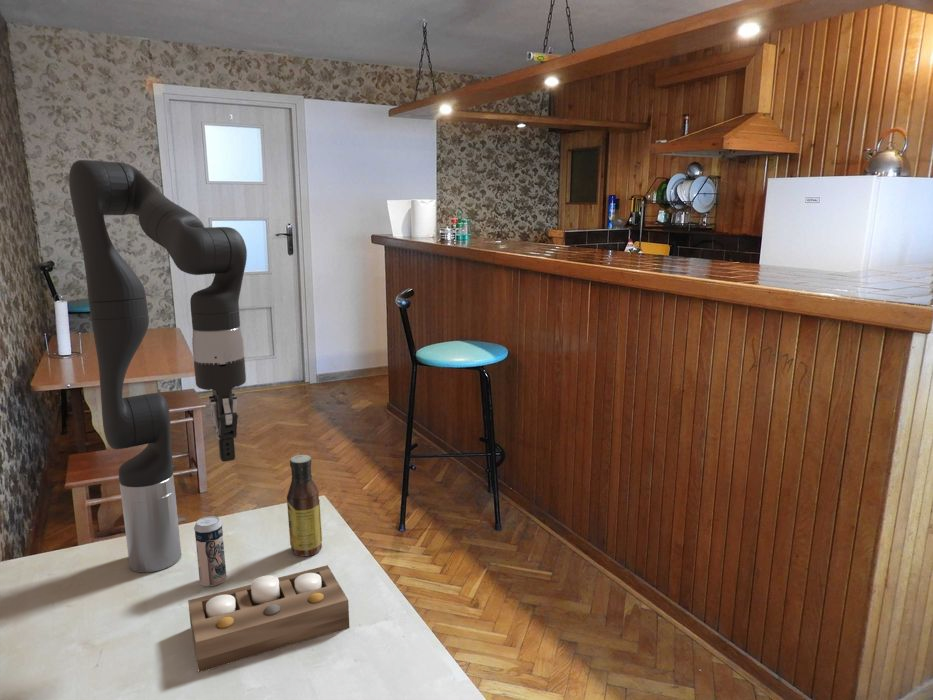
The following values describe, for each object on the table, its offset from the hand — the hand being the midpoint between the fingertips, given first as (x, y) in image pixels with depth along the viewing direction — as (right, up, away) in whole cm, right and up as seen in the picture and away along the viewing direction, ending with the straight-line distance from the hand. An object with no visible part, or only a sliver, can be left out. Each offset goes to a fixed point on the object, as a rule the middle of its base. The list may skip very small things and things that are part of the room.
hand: (227, 459), depth 107 cm
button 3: (+12, -24, +5) cm, 27 cm away
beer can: (-8, -25, +14) cm, 29 cm away
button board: (+7, -28, 0) cm, 28 cm away
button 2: (+6, -23, +1) cm, 24 cm away
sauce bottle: (+7, -23, +24) cm, 34 cm away
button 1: (0, -25, -2) cm, 25 cm away
